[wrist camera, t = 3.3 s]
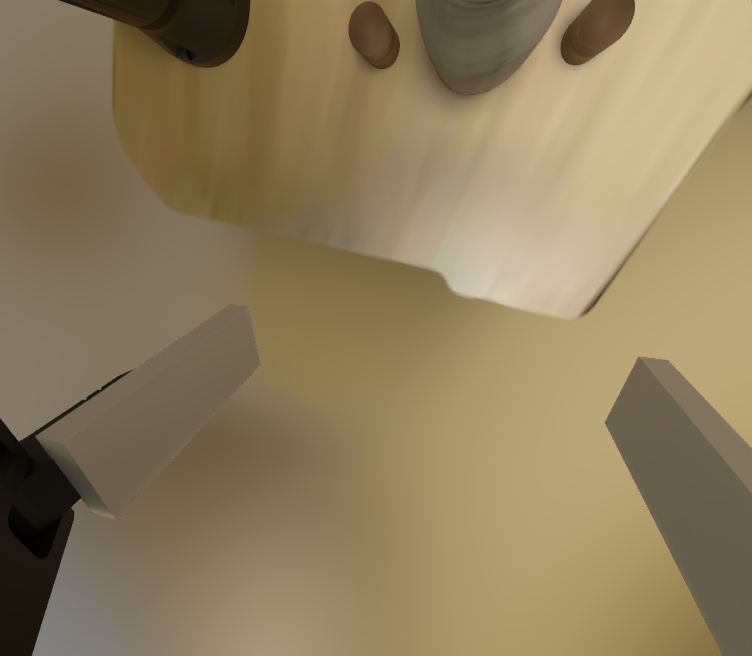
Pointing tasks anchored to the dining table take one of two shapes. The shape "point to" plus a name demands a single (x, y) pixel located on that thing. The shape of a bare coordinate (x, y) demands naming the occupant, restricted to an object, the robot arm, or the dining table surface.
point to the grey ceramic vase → (482, 38)
